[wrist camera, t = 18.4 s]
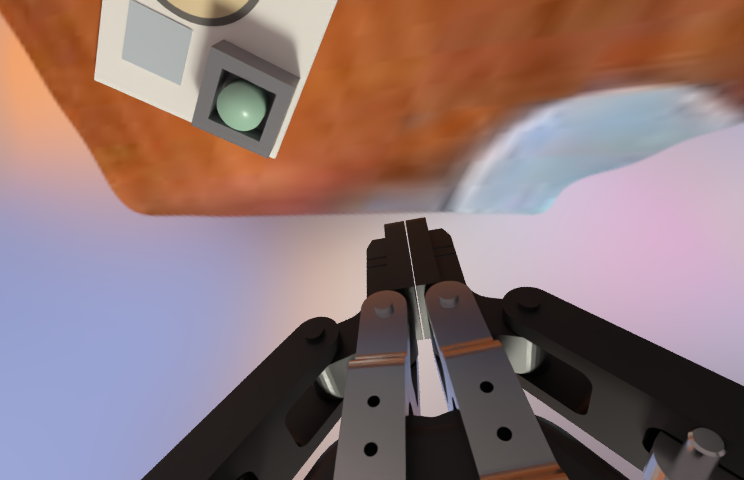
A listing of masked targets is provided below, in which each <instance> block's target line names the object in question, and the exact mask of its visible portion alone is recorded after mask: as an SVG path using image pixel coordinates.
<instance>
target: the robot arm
mask: <svg viewBox="0 0 744 480" xmlns="http://www.w3.org/2000/svg"><path fill="white" fill-rule="evenodd" d="M384 227H385V228H384V229H385V238H382V239H377V240H372V241H371V243H370V245H369V246H368V248H367V299H366V300H365V301H364V302H363V304H362V307H361V311H360V312H359V313H358V314H357V315H355V316H354V317H352V318H350V319H348V320H345V321H343V322H341V323H338V324H336V322H335V321H334V320H332V319H330V318H328V317H316V318H312V319H309V320H307V321H306V322H304V323H302V324H301V325H300V326H299V327H298V328H297V329H296V330H295V331H294V332H293V333H292V334H291V335H290V336H289V337H288V338H286V340H284V341H283V342H282V343H281V344H280V345H279V346H278V347H277V348H276V349H275V350H274V351H273V352H272V353H271V354H270V355H269V356H268V357H267V358H266V359H265V360H264V361H263V362H262V363H261V364H260V365H259V366H258V367H257V368H256V369H255V370H254V371H253V372H251V374H249V375H248V376H247V377H246V379H244V380H243V381H242V382H241V383H240V384H239V385H238V386H237V387H236V388H235V389H234V390H233V391H232V392H231V393H230V394H229V395H228V396H227V397H226V398H225V399H224V400H223V401H222V402H221V403H220V404H219V405H218V406H217V407H216V408H215V409H213V410H212V411H211V412H210V413H209V414H208V415H207V416H206V417H205V418H204V419H203V420H202V421H201V422H200V423H199V424H198V425H197V426H196V427H195V428H194V429H193V430H192V431H191V432H190V433H189V434H188V435H187V436H186V437H185V438H184V439H182V441H180V442H179V444H177V445H176V446H175V447H174V449H172V450H171V451H170V452H169V453H168V454H167V455H166V456H165V457H164V458H163V459H162V460H161V461H160V462H159V463H158V464H157V465H156V466H155V467H154V468H153V469H152V470H151V471H150V472H148V474H146V475H145V476H144V477H143V478H142V479H141V480H292V479H293V478H294V476H295V475H296V474H297V473H298V471H299V470H300V469H301V467H302V466H303V465H304V464H305V462H306V461H307V460H308V458H309V457H310V456H311V455H312V453H313V452H314V451H315V450H316V448H317V447H318V446H319V444H320V443H321V442H322V441H323V439H324V438H325V437H326V435H327V434H328V433H329V432H330V430H331V429H332V428H333V427H334V425H335V424H336V423H337V422H338V420H339V419H340V418H341V425H340V432H339V439H338V440H337V441H335V442H334V443H333V444H332V445H331V446H330V447H329V448H328V449H327V450H326V451H325V452H324V453H323V454H322V455H321V456H320V458H319V459H318V460H317V462H316V463H315V465H314V466H313V467H312V469H311V470H310V471H309V473H308V474H307V476H306V477H305V478H304V480H629V479H628V478H627V477H625V476H624V475H623V474H621V473H620V472H619V471H618V470H616V469H615V468H614V467H612V466H611V465H610V464H608V463H607V462H606V461H604V460H603V459H602V458H600V457H599V456H598V455H596V454H595V453H594V452H593V451H591V450H590V449H589V448H587V447H586V446H585V445H583V444H582V443H581V442H579V441H578V440H577V439H576V438H574V437H573V436H572V435H570V434H569V433H567V432H566V431H565V430H563V429H562V428H560V427H559V426H557V425H555V424H554V423H552V422H550V421H548V420H546V419H544V418H542V417H539V416H536V415H534V413H533V410H532V408H531V406H530V404H529V402H528V400H527V397H526V396H525V393H524V391H523V389H524V390H526V391H528V392H529V393H530V394H532V395H533V396H535V397H536V398H537V399H539V400H540V401H542V402H543V403H545V404H546V405H548V406H549V407H551V408H552V409H553V410H555V411H556V412H558V413H559V414H561V415H562V416H563V417H565V418H566V419H568V420H569V421H571V422H572V423H574V424H575V425H576V426H578V427H579V428H581V429H582V430H584V431H585V432H587V433H588V434H589V435H591V436H592V437H594V438H595V439H596V440H598V441H599V442H601V443H602V444H604V445H605V446H607V447H608V448H609V449H611V450H612V451H614V452H615V453H617V454H618V455H620V456H621V457H622V458H624V459H625V460H627V461H628V462H630V463H631V464H632V465H634V466H635V467H637V468H638V469H640V470H641V471H643V476H644V480H744V386H742V385H740V384H738V383H736V382H734V381H732V380H730V379H727V378H725V377H723V376H721V375H719V374H717V373H715V372H713V371H711V370H709V369H706V368H704V367H702V366H700V365H698V364H696V363H694V362H692V361H690V360H688V359H686V358H683V357H681V356H679V355H677V354H675V353H673V352H671V351H669V350H667V349H665V348H663V347H660V346H658V345H656V344H654V343H652V342H650V341H648V340H646V339H643V338H641V337H639V336H637V335H635V334H633V333H631V332H629V331H627V330H625V329H623V328H621V327H618V326H616V325H614V324H612V323H610V322H608V321H606V320H604V319H602V318H600V317H598V316H595V315H593V314H591V313H589V312H587V311H585V310H583V309H581V308H579V307H577V306H575V305H572V304H570V303H568V302H566V301H564V300H562V299H560V298H558V297H556V296H554V295H551V294H549V293H547V292H545V291H543V290H541V289H537V288H533V287H520V288H516V289H513V290H511V291H509V292H508V293H507V294H506V295H505V296H504V298H503V299H497V298H488V297H484V296H480V295H478V294H476V293H474V292H473V291H471V290H470V289H469V287H468V286H467V285H466V283H465V280H464V277H463V273H462V270H461V267H460V264H459V261H458V258H457V255H456V251H455V248H454V245H453V242H452V239H451V236H450V235H449V234H448V233H447V232H446V231H445V230H443V229H442V228H441V229H435V230H429V231H428V227H427V223H426V218H425V217H424V218H418V219H412V220H406V227H407V233H408V240H409V246H410V252H411V258H412V264H413V271H414V277H415V284H416V290H417V295H418V301H419V306H420V313H421V318H422V324H423V329H424V336H425V339H429V338H431V340H432V346H433V352H434V358H435V363H436V366H437V370H438V373H439V377H440V381H441V385H442V388H443V392H444V395H445V399H446V403H447V407H448V411H449V412H447V413H444V414H442V415H440V416H436V417H424V416H421V414H420V391H419V370H418V369H419V368H418V358H417V357H418V347H417V340H422V339H423V337H422V330H421V323H420V317H419V310H418V304H417V298H416V291H415V284H414V278H413V272H412V265H411V259H410V254H409V248H408V242H407V236H406V231H405V225H404V221H401V222H395V223H390V224H385V225H384ZM522 388H523V389H522Z"/></svg>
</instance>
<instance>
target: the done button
mask: <svg viewBox="0 0 744 480" xmlns="http://www.w3.org/2000/svg"><path fill="white" fill-rule="evenodd" d="M268 108H269V96H268V94H267V91H266V90H265V89H264V88H262V87H260V86H258V85H255V84H253V83H251V82H249V81H247V80H245V79H243V78H237V79H235V80H234V81H232V82H231V83H230V84H229V85H228V86H227V87H226V88H224V89H223V90H222V91H221V92H220V94H219V96H218V98H217V110H218V113H219V115H220V117H221V118H222V120H223V121H224V122H225V123H226V124H227V125H228V126H230V127H231V128H233V129H236V130H240V131H248V130H252V129H254V128H255V127H257V126H258V125H259V123H260V122H261V120H262V119H263V117H264V116H265V114H266V113H267V111H268Z"/></svg>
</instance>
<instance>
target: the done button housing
mask: <svg viewBox="0 0 744 480" xmlns="http://www.w3.org/2000/svg"><path fill="white" fill-rule="evenodd" d="M237 78H243V79H245V80H247V81H249V82H251V83H253V84H255V85H258V86H260V87H262V88H264V89H265V90H266V91H267V94H268V96H269V108H268V111H267V113H266V114H265V116H264V117H263V119H262V120H261V122H260V123H259V125H258V126H257V127H255V128H254V129H252V130H248V131H240V130H236V129H233V128H231V127H230V126H228V125H227V124H226V123H225V122H224V121H223V120H222V118H221V117H220V115H219V113H218V110H217V98H218V96H219V94H220V92H221V91H222V90H223V89H224V88H226V87H227V86H228V85H229V84H230V83H231V82H232V81H234V80H235V79H237ZM299 81H300V78H299V77H297V76H295V75H293V74H291V73H289V72H287V71H285V70H284V69H282V68H280V67H278V66H276V65H274V64H272V63H270V62H268V61H266V60H264V59H262V58H260V57H258V56H256V55H254V54H252V53H250V52H248V51H246V50H244V49H242V48H240V47H238V46H236V45H234V44H232V43H230V42H228V41H226V40H224V39H223V40H221V41H220V42H218V43H216V44H214V45H212V46H211V47H210V51H209V55H208V59H207V63H206V67H205V71H204V75H203V79H202V83H201V87H200V91H199V95H198V99H197V103H196V107H195V111H194V115H193V119H192V123H191V125H192V126H195V127H197V128H199V129H202V130H204V131H206V132H208V133H211V134H213V135H215V136H218V137H220V138H222V139H224V140H227V141H229V142H231V143H234V144H236V145H238V146H241V147H243V148H245V149H247V150H250V151H252V152H254V153H257V154H259V155H261V156H263V157H266V158H268V157H269V155H270V153H271V151H272V149H273V147H274V145H275V143H276V140H277V138H278V135H279V133H280V130H281V127H282V125H283V122H284V120H285V117H286V115H287V112H288V109H289V107H290V104H291V102H292V99H293V96H294V94H295V91H296V89H297V86H298V83H299Z"/></svg>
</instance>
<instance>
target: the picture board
mask: <svg viewBox="0 0 744 480" xmlns="http://www.w3.org/2000/svg"><path fill="white" fill-rule="evenodd" d="M337 1H338V0H102V10H101V20H100V29H99V39H98V49H97V58H96V68H95V77H94V80H96V81H98V82H100V83H103V84H105V85H107V86H110V87H112V88H114V89H116V90H119V91H121V92H123V93H125V94H128V95H130V96H132V97H135V98H137V99H139V100H141V101H144V102H146V103H148V104H151V105H153V106H155V107H157V108H160V109H162V110H164V111H167V112H169V113H171V114H173V115H176V116H178V117H180V118H183V119H185V120H187V121H189V122H192V119H193V115H194V111H195V107H196V103H197V99H198V95H199V91H200V87H201V83H202V79H203V75H204V71H205V67H206V63H207V59H208V55H209V51H210V47H211V46H212V45H214V44H216V43H218V42H220V41H221V40H223V39H224V40H226V41H228V42H230V43H232V44H234V45H236V46H238V47H240V48H242V49H244V50H246V51H248V52H250V53H252V54H254V55H256V56H258V57H260V58H262V59H264V60H266V61H268V62H270V63H272V64H274V65H276V66H278V67H280V68H282V69H284V70H285V71H287V72H289V73H291V74H293V75H295V76H297V77H299V78H300V81H299V83H298V86H297V89H296V91H295V94H294V96H293V99H292V102H291V104H290V107H289V109H288V112H287V115H286V117H285V120H284V122H283V125H282V127H281V130H280V133H279V135H278V138H277V140H276V143H275V145H274V147H273V149H272V151H271V153H270V155H269V157H271V158H274V159H275V158H276V156H277V153H278V151H279V148H280V145H281V143H282V140H283V138H284V135H285V133H286V130H287V128H288V125H289V123H290V120H291V117H292V115H293V112H294V110H295V107H296V105H297V102H298V100H299V97H300V95H301V92H302V90H303V87H304V84H305V82H306V79H307V77H308V74H309V72H310V69H311V67H312V64H313V62H314V59H315V57H316V54H317V51H318V49H319V46H320V44H321V41H322V39H323V36H324V34H325V31H326V29H327V26H328V23H329V21H330V18H331V16H332V13H333V11H334V8H335V6H336V3H337Z"/></svg>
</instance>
